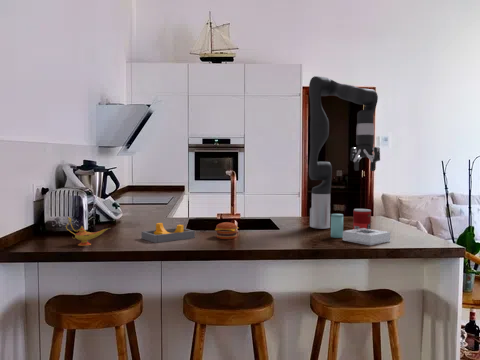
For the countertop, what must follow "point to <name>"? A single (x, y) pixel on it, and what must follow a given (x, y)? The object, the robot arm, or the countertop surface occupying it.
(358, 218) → the canned food
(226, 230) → the hamburger
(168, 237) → the tray
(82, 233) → the magic lamp
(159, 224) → the pipe clamp
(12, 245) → the countertop surface
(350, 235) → the housing
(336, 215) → the teal cylinder
